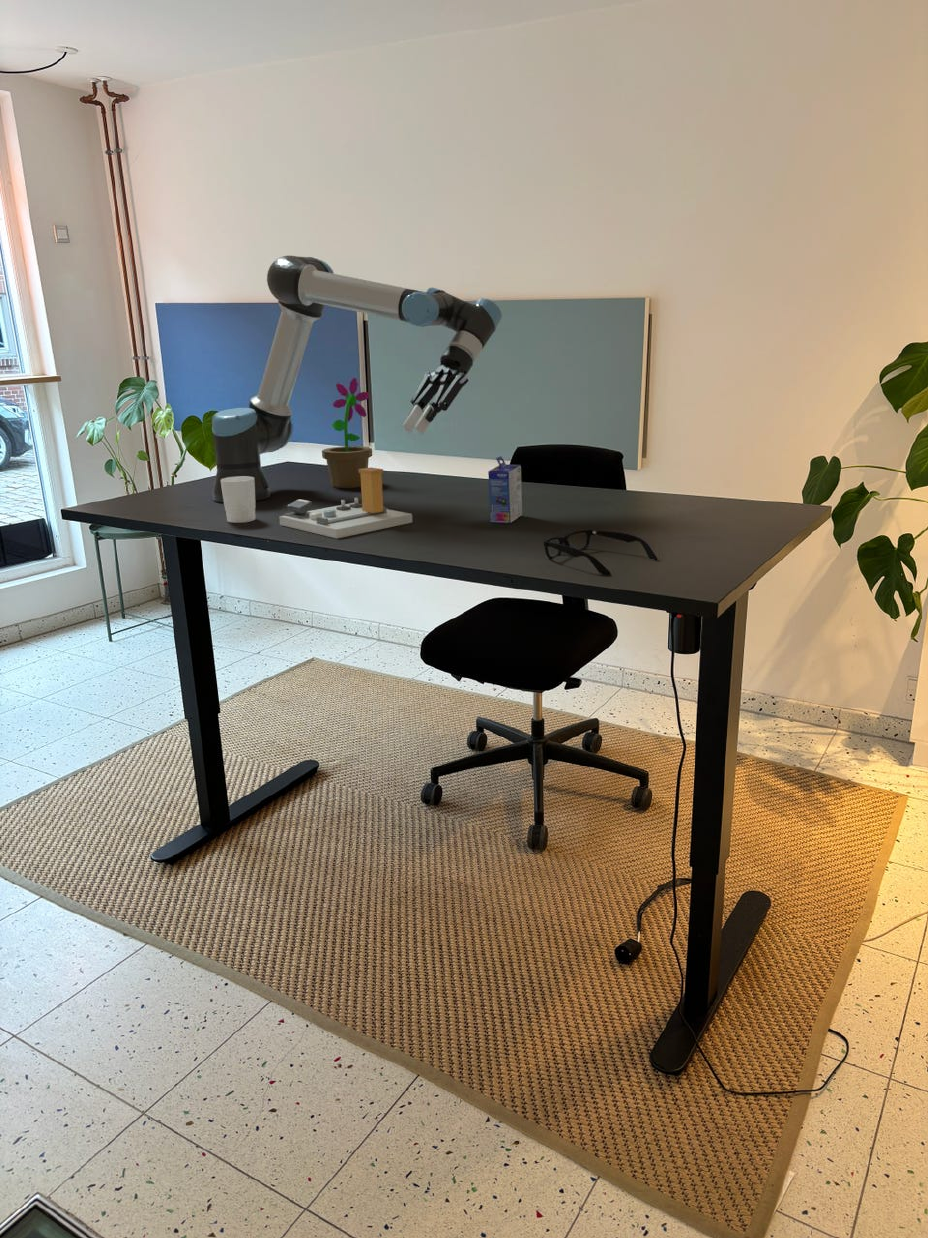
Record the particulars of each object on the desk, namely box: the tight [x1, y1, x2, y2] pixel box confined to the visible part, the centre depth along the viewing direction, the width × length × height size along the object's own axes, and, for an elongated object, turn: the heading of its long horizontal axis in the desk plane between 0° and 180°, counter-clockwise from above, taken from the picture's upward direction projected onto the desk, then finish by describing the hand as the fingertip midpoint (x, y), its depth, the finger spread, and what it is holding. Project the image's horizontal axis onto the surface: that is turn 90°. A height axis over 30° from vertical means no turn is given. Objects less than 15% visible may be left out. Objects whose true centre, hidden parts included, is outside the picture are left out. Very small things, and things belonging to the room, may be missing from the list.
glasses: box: [543, 529, 658, 576], centre depth 177 cm, size 17×18×5 cm
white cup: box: [221, 476, 256, 524], centre depth 220 cm, size 8×8×10 cm
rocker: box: [286, 498, 314, 513], centre depth 214 cm, size 5×4×2 cm
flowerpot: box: [321, 377, 373, 489], centre depth 262 cm, size 14×14×30 cm
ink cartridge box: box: [487, 456, 523, 524], centre depth 214 cm, size 10×6×14 cm, turn 161°
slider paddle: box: [358, 467, 384, 513], centre depth 213 cm, size 5×4×10 cm
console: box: [279, 497, 413, 539], centre depth 214 cm, size 22×22×4 cm
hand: (412, 429), depth 218 cm, fingers open, 4 cm apart
